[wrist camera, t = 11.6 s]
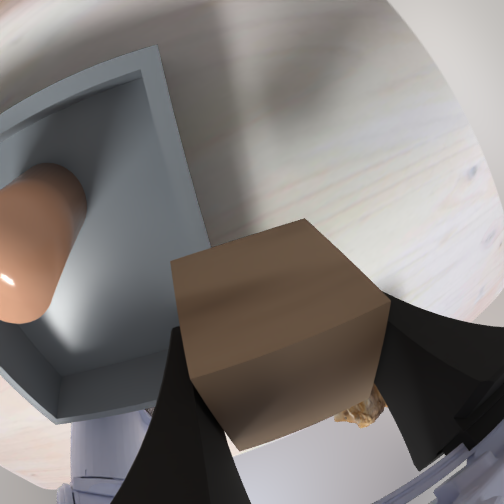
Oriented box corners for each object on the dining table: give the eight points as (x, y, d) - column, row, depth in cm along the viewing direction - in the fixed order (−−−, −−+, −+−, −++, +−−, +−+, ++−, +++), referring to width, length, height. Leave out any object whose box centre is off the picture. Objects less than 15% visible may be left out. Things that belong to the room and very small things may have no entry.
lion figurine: (300, 372, 30) (338, 441, 22) (331, 336, 28) (378, 407, 21) (376, 376, 37) (409, 424, 29) (401, 349, 35) (439, 396, 28)
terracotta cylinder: (101, 222, 16) (78, 298, 10) (39, 257, 15) (2, 336, 9) (62, 146, 13) (5, 185, 7) (-1, 190, 12) (-63, 248, 7)
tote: (234, 329, 23) (253, 377, 19) (60, 378, 21) (55, 424, 17) (157, 59, 13) (157, 44, 9) (-63, 177, 10) (-106, 206, 6)
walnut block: (312, 314, 14) (369, 397, 9) (208, 352, 13) (239, 451, 9) (304, 218, 11) (391, 300, 7) (170, 261, 10) (190, 378, 6)
